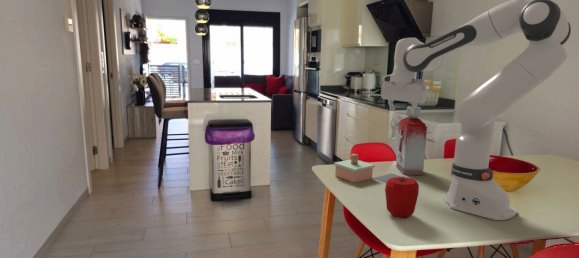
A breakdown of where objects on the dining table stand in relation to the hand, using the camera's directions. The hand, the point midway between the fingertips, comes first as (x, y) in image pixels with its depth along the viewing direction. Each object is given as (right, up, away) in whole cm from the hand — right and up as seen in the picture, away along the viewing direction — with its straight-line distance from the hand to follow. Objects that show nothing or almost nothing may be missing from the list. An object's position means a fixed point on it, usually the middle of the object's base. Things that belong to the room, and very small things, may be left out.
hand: (401, 111), depth 156 cm
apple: (-10, -36, -33) cm, 49 cm away
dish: (-19, -28, +5) cm, 35 cm away
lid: (-19, -23, +4) cm, 30 cm away
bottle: (+8, -27, +17) cm, 33 cm away
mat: (-2, -29, +3) cm, 29 cm away
